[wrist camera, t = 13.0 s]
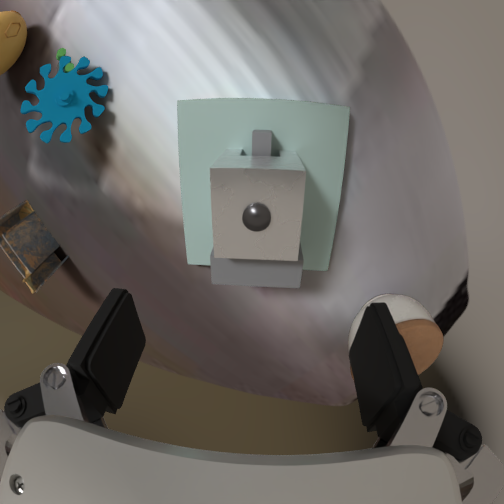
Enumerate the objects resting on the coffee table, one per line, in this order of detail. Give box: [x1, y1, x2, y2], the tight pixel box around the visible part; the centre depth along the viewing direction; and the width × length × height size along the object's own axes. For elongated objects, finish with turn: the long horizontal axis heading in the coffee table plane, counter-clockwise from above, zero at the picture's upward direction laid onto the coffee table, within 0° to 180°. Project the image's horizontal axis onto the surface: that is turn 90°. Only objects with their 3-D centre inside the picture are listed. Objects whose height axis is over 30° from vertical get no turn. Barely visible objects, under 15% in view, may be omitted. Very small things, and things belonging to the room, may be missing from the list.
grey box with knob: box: [210, 149, 306, 261], centre depth 23 cm, size 7×6×8 cm
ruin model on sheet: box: [0, 200, 69, 294], centre depth 28 cm, size 11×3×10 cm, turn 33°
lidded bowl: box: [348, 294, 443, 380], centre depth 31 cm, size 13×13×11 cm
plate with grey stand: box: [177, 98, 350, 288], centre depth 25 cm, size 18×16×8 cm
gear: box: [21, 48, 108, 143], centre depth 21 cm, size 11×6×10 cm
